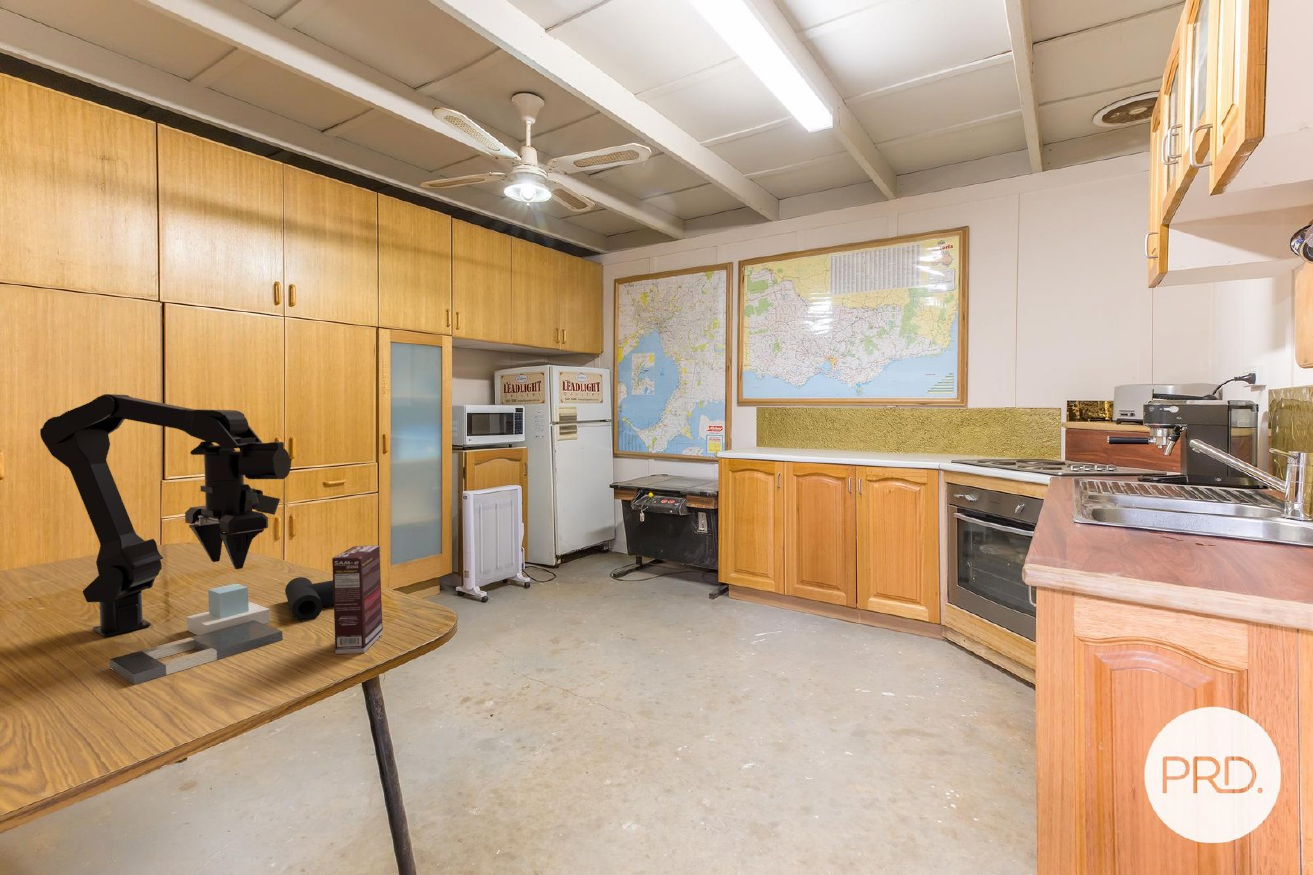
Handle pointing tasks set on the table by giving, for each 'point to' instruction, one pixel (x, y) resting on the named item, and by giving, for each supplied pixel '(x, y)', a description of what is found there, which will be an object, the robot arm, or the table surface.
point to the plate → (210, 649)
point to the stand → (226, 619)
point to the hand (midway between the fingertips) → (227, 565)
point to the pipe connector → (308, 597)
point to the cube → (228, 600)
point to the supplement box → (357, 599)
